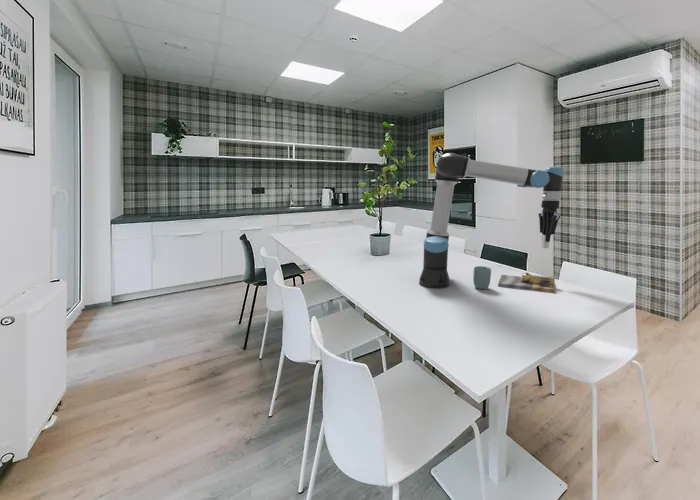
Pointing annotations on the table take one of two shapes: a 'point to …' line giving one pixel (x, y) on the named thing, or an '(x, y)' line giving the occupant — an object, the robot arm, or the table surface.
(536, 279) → the latch arm
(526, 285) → the door board
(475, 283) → the cup
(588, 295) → the table surface
